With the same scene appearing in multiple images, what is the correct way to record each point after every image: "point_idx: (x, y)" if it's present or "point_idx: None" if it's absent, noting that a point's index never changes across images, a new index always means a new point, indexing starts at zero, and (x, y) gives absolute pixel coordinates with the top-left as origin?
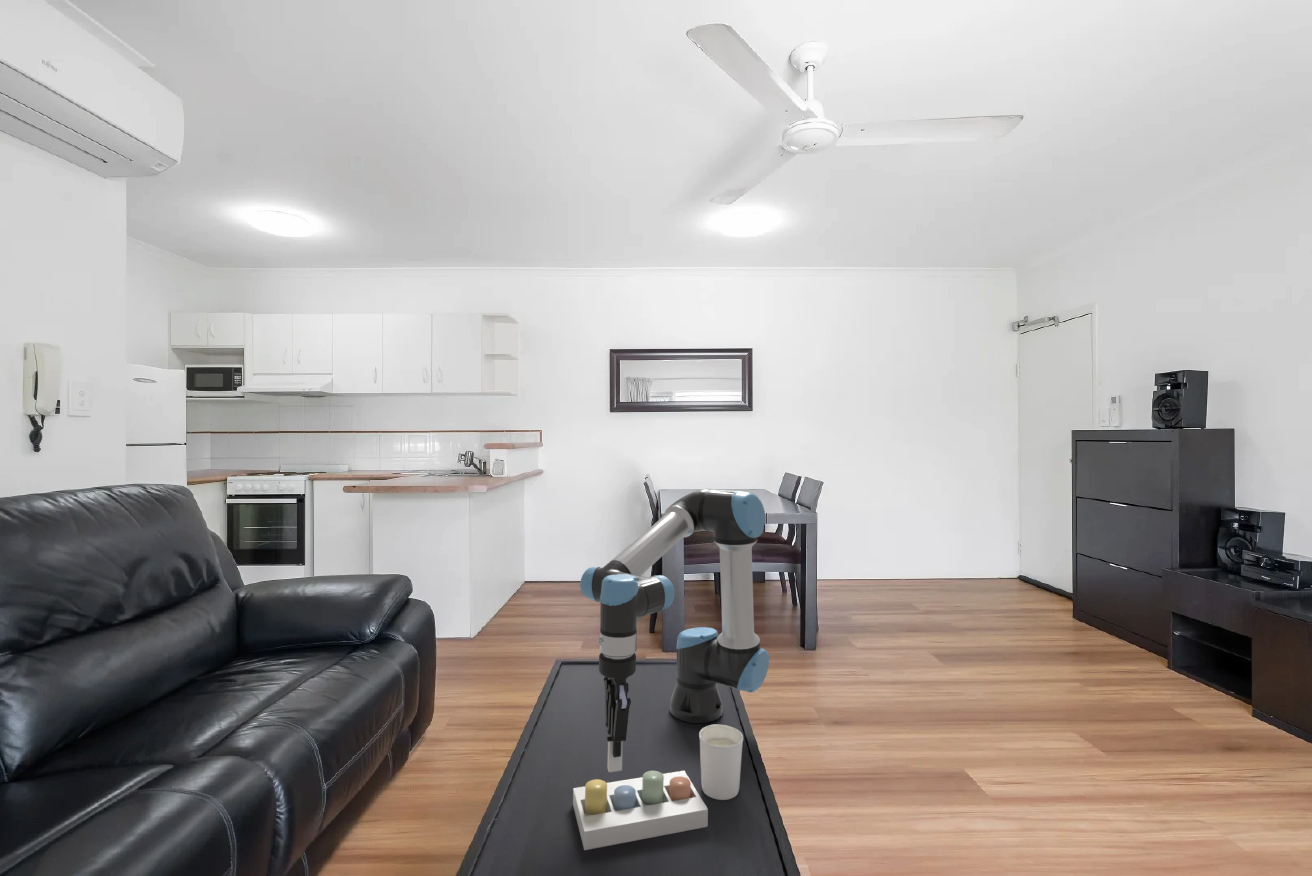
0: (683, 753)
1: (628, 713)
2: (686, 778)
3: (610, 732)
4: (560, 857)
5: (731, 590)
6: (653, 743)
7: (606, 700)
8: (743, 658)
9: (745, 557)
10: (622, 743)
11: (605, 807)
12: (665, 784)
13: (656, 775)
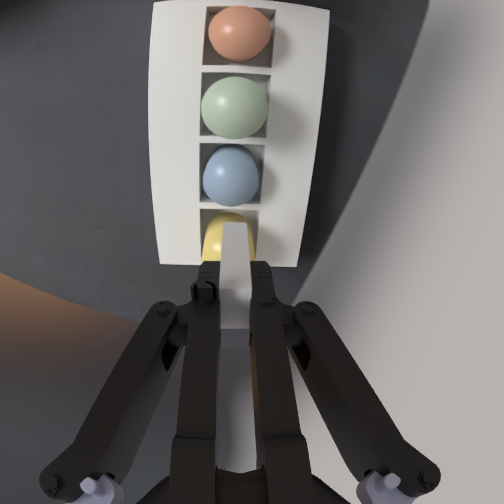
0: (54, 4)
1: (390, 418)
2: (226, 9)
3: (220, 333)
4: (290, 279)
5: None
6: (10, 66)
7: (145, 431)
8: None
9: None
10: (250, 274)
11: (244, 220)
12: (196, 59)
13: (231, 96)
